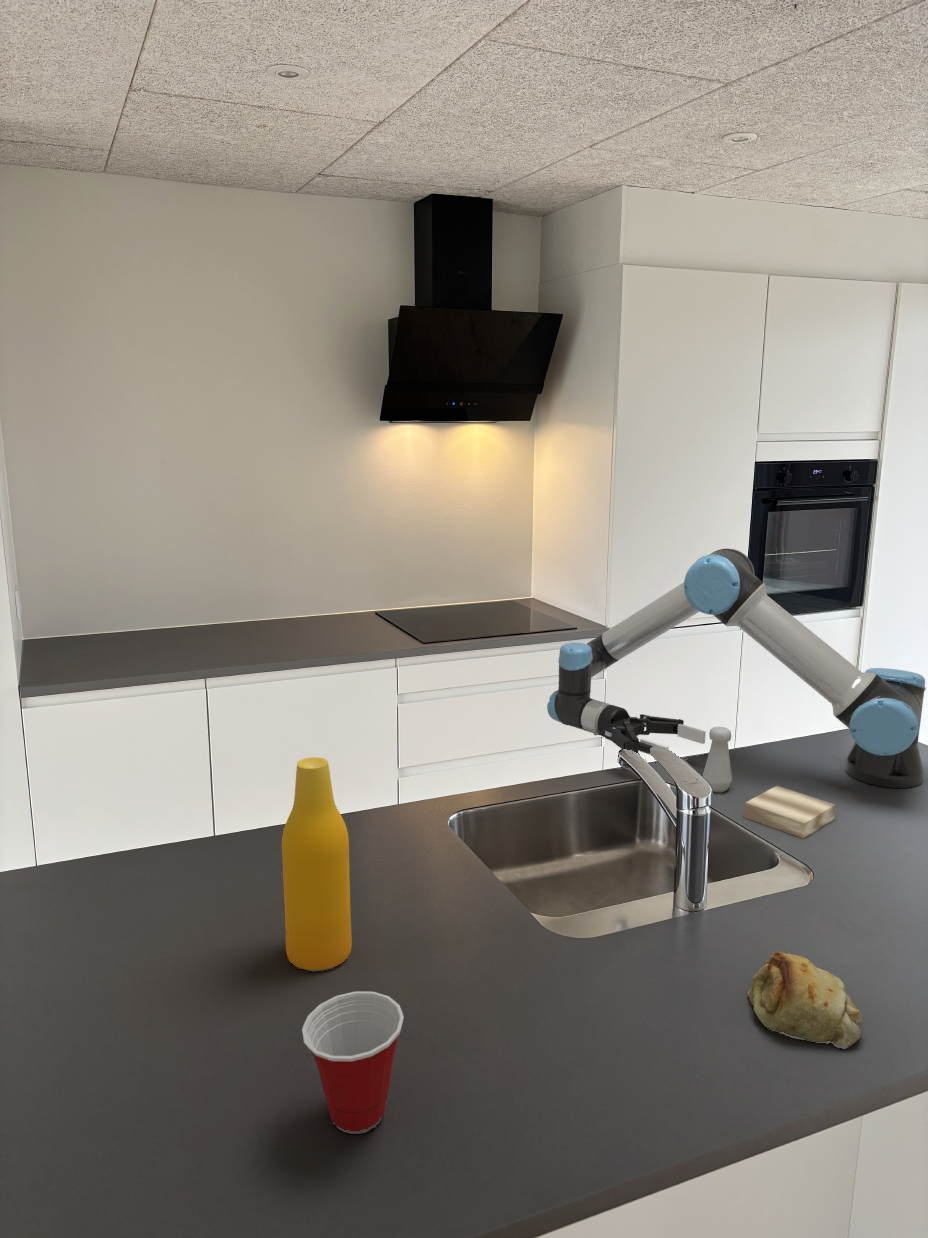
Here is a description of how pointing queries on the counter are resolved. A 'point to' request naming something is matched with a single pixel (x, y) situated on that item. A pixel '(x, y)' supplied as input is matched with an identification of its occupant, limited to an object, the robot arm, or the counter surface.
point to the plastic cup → (354, 1054)
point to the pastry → (804, 1001)
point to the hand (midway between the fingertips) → (686, 745)
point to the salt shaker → (718, 760)
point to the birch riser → (789, 811)
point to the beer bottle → (316, 873)
